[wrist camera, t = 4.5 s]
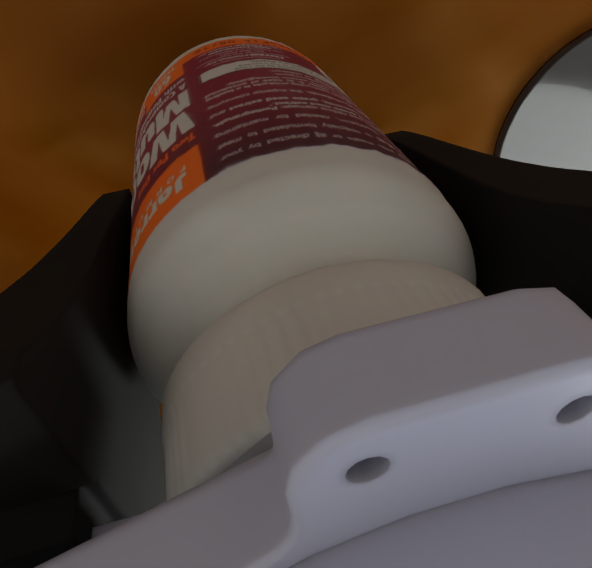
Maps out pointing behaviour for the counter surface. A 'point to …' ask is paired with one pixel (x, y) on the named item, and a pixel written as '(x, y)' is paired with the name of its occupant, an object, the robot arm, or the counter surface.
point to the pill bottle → (267, 240)
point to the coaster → (554, 113)
